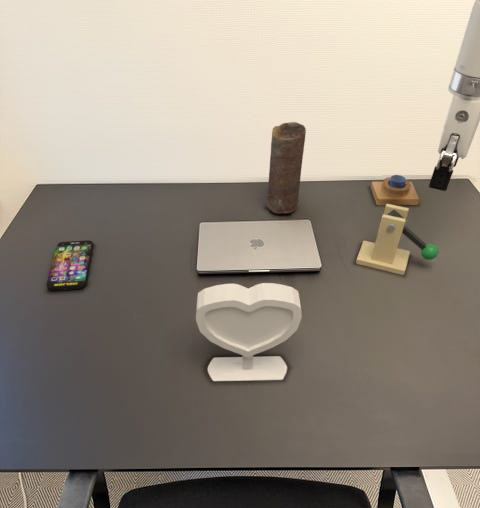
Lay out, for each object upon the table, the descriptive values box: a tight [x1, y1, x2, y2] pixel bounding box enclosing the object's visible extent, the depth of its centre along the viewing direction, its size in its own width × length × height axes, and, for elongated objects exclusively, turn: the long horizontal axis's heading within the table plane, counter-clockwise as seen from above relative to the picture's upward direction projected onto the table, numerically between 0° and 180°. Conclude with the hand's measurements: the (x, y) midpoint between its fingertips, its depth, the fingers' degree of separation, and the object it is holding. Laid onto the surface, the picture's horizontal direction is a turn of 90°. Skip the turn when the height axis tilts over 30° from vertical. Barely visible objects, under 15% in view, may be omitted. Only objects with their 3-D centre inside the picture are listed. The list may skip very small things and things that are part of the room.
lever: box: [387, 209, 439, 261], centre depth 94 cm, size 13×3×3 cm
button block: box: [370, 176, 420, 206], centre depth 116 cm, size 10×8×4 cm
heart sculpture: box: [195, 282, 303, 382], centre depth 73 cm, size 16×5×18 cm, turn 91°
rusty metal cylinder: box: [266, 121, 307, 215], centre depth 106 cm, size 8×7×20 cm
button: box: [389, 174, 407, 188], centre depth 114 cm, size 4×4×2 cm
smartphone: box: [46, 240, 94, 292], centre depth 98 cm, size 8×1×15 cm
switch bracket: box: [355, 204, 411, 276], centre depth 96 cm, size 10×7×12 cm
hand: (442, 176), depth 90 cm, fingers open, 9 cm apart
